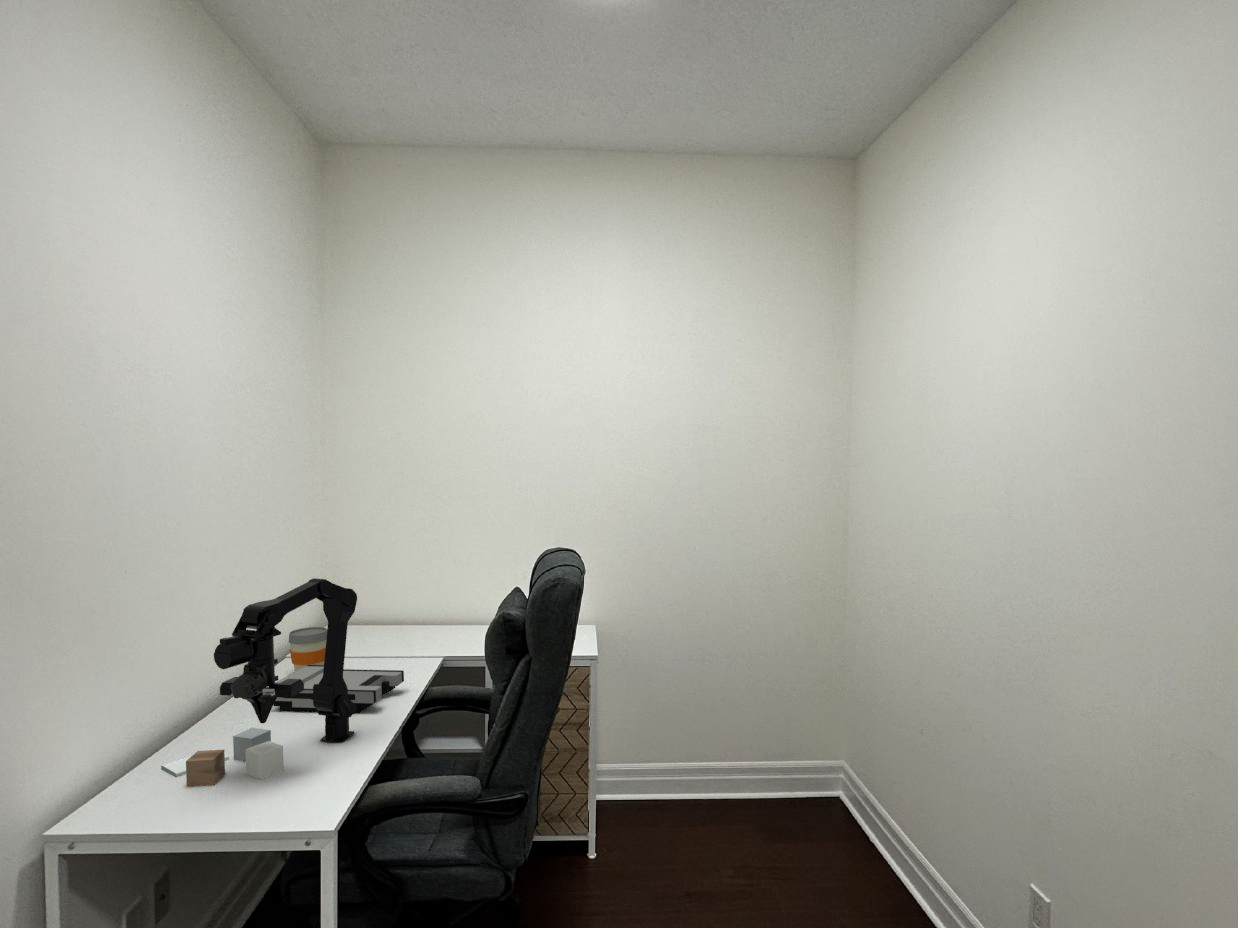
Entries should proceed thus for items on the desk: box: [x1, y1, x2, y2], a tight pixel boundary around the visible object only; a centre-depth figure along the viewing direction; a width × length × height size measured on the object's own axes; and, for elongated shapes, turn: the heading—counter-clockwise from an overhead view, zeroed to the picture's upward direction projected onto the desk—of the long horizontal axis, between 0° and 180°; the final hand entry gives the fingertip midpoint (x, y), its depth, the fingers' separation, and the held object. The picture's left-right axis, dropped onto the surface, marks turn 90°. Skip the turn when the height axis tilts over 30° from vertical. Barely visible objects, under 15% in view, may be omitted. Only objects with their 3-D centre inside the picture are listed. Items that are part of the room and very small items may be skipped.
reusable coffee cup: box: [288, 626, 328, 672], centre depth 261 cm, size 13×12×15 cm
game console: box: [273, 665, 405, 715], centre depth 233 cm, size 21×32×8 cm, turn 82°
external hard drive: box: [160, 748, 230, 778], centre depth 189 cm, size 2×8×12 cm
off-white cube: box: [245, 740, 285, 780], centre depth 183 cm, size 6×6×6 cm
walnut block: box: [185, 749, 226, 788], centre depth 179 cm, size 6×6×6 cm
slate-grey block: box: [232, 727, 272, 763], centre depth 193 cm, size 6×6×6 cm
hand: (263, 722), depth 183 cm, fingers closed
